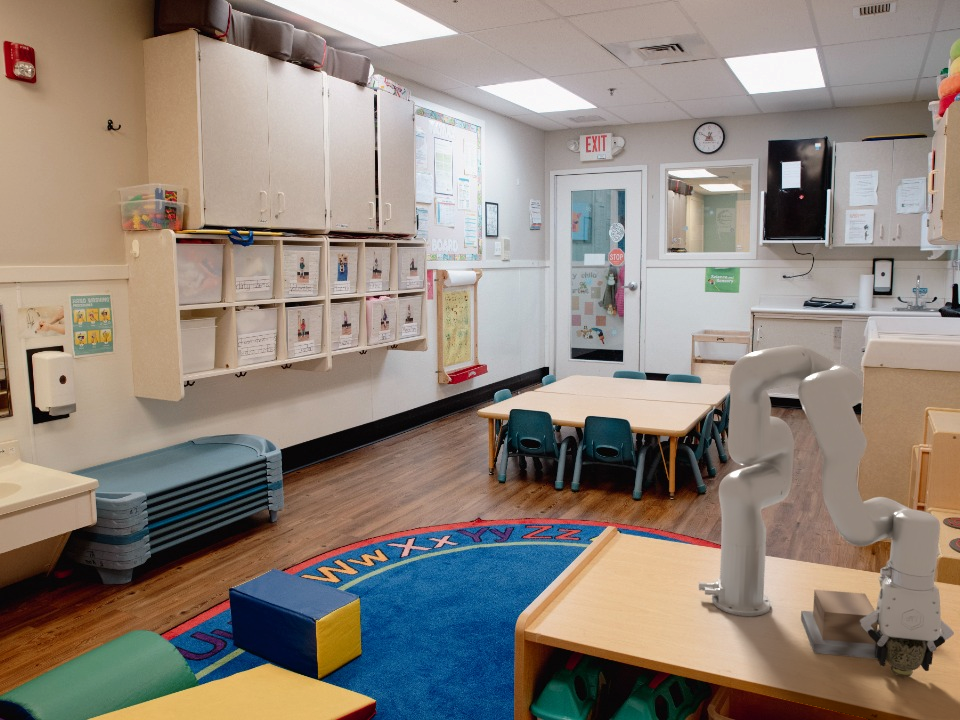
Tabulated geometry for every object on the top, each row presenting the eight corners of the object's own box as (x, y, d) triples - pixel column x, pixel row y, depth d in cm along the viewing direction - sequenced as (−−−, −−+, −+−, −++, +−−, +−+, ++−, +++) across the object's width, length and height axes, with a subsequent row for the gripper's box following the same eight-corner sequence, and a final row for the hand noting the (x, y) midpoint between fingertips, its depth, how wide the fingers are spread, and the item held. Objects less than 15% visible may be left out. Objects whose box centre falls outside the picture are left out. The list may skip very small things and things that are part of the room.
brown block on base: (813, 652, 157) (815, 615, 156) (800, 619, 171) (802, 584, 169) (889, 659, 154) (892, 622, 153) (870, 625, 168) (872, 590, 166)
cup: (871, 663, 152) (875, 625, 150) (907, 661, 153) (911, 623, 151) (894, 685, 145) (898, 646, 143) (932, 683, 145) (937, 644, 144)
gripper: (865, 581, 143) (857, 670, 146) (970, 590, 140) (960, 681, 143) (855, 564, 150) (848, 648, 154) (955, 572, 147) (945, 659, 150)
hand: (902, 663), depth 148 cm, fingers closed on cup, 6 cm apart
